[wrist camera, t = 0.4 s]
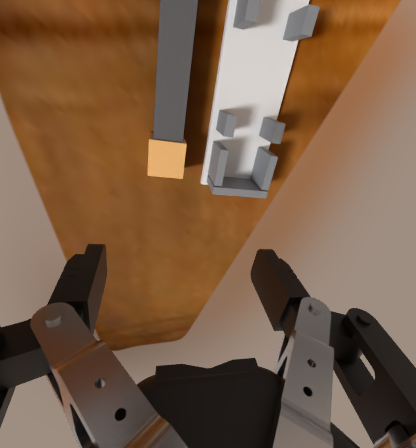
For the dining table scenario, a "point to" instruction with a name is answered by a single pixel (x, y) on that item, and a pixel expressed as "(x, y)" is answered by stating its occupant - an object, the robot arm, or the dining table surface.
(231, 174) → the white grey holder tray
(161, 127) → the grey orange bar
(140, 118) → the dining table surface
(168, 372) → the robot arm
